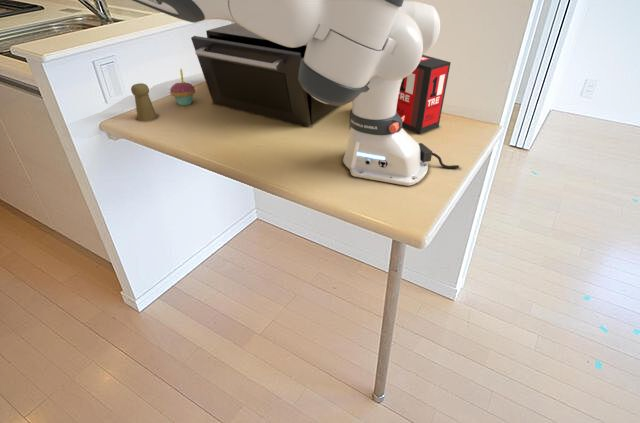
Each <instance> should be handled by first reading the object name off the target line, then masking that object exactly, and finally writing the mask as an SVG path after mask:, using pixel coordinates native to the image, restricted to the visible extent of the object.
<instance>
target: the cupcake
mask: <svg viewBox="0 0 640 423" xmlns="http://www.w3.org/2000/svg"><path fill="white" fill-rule="evenodd" d="M179 72H180V79H181V82H176V83H174V84H173V85H172V86H171V87H170V89H169V93H170V96H171V97H173V98H174V99H175V100H176V102H177V104H178V105H179V106H188V105H191V104H192V102H193V96H194V95H195V94H196V88H195V86H194V85H193V84H192V83H189V82H185V80H184V73H183V69H180V70H179Z"/></svg>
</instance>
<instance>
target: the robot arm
mask: <svg viewBox="0 0 640 423" xmlns="http://www.w3.org/2000/svg"><path fill="white" fill-rule="evenodd" d="M131 1H132V2H134V3H137V4H140V5H142V6H145V7H148V8H149V9H153V10H155V11H158V12H159V13H163V14H165V15H168V16H170V17H173V18H176V19H179V20H182V21H185V22H189V23H194V24H196V23H200V22H203V21H207V20H221V21H229V22H232V23H237V24H238V25H240V26H242V27H243V28H245V29H247V30H248V31H250V32H252V33H254V34H256V35H258V36H260V37H262V38H265V39H267V40H269V41H272V42H274V43H277V44H280V45H283V46H286V47H291V48H296V47H300V46H303V45H305V44H307V43H308V44H307V48H306V51H305V55H304V58H302V59H301V62H300V67H299V74H298V80H299V82H300V84H301V86H302V88H303V89H304V90H305V91H306V92H307V93H308V94H310V95H311V96H312V97H313V98H315V99H316V100H318V101H320V102H322V103H325V104H330V105H334V106H339V107H342V106H344V105H347V104H350V103H351V109H350V111H349V120H348V121H349V122H348V125H349V126H348V129H349V136H348V141H347V146H346V150H345V153H344V156H343V158H342V161H343V165H345V167H346V168H347V169H349V172H350V175H351V176H352V177H356V178H360V179H366V180H372V181H378V182H384V183H388V184H393V185H394V184H395V185H400V186H407V187H410V186H414V185H416V184H417V183H419V182H420V181H422V180H423V179H424V177H425V176H426V175H427V172H428V170H429V163H428V162H431V161H432V158H433V157H432V156H434V157H435V158H436V159H437V160H438V162H439V165H440V166H441V167H442V168H446V169H459V167H460V165H458V164H456V165H447V164H444V162H443V161H442V160H443V159H442V158H441V157H440V155H438V154H437V153H435V152H433V150H431V149H430V148H429V147H428V146H427V145H425V144H424V143H422V142H420V143H419V142H417V140H415V139H414V138H413V137H412V136H410V134H409V133H408V132H407V131H406V130H405V128H404V127H402V122H403V121H404V117H405V116H403V117H402V118H401V117H400V116H399V115H398V113H397V111H396V109H397V102H398V96H399V91H400V86H401V83H402V80H403V78H405V77H407V76H409V75H410V74H411V73H412V72H413V71H414V70H415V69H416V68H417V66H418V64H419V63H420V60H421V57H422V55H425V54H426V53H428V52H430V50H431V49H432V48H433V47H434V46H435V45H436V43H437V41H438V39H439V36H440V32H441V19H440V15H439V13H438V11H437V9H436V8H435V7H434V5H430V4H428V3H423V2H419V1H414V0H131Z"/></svg>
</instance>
